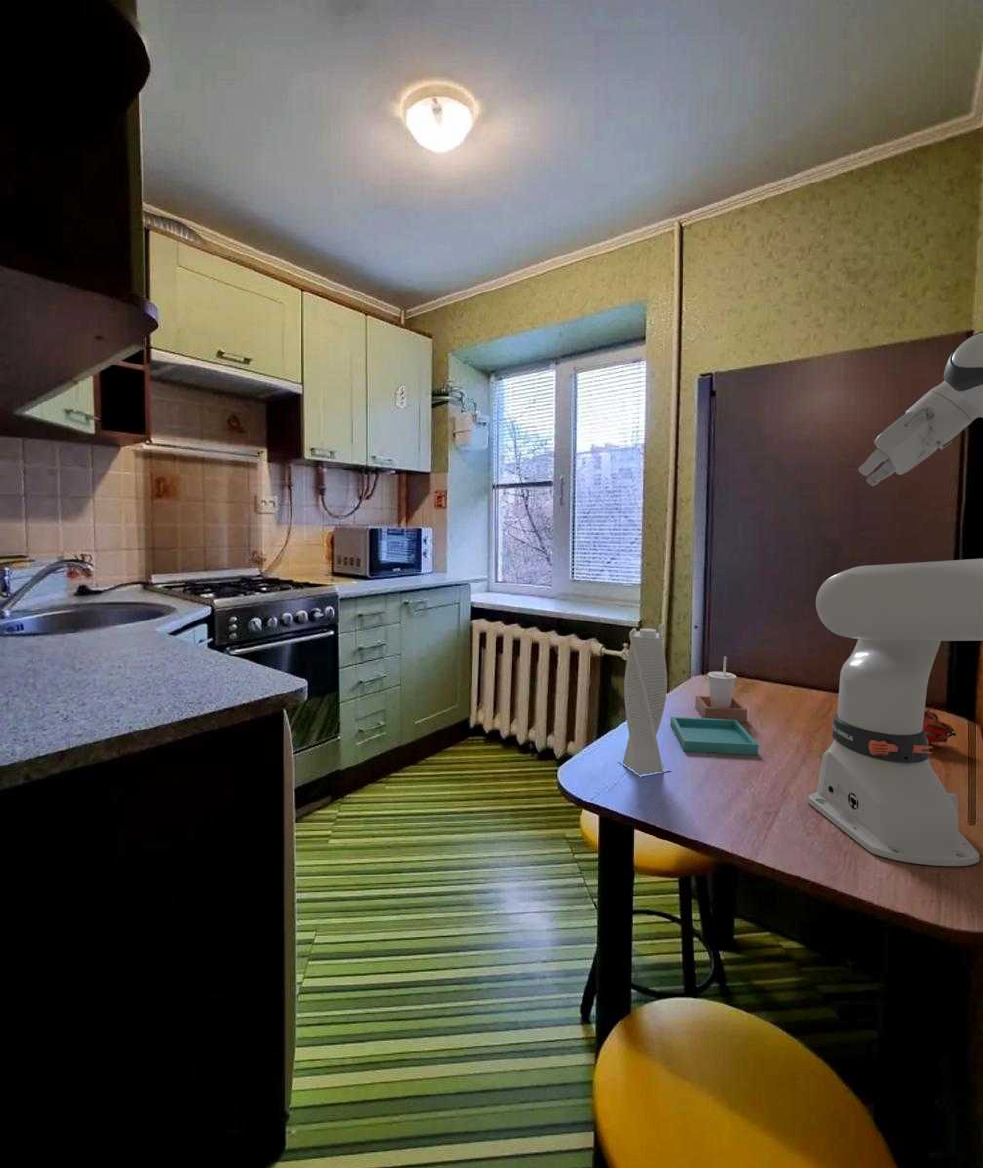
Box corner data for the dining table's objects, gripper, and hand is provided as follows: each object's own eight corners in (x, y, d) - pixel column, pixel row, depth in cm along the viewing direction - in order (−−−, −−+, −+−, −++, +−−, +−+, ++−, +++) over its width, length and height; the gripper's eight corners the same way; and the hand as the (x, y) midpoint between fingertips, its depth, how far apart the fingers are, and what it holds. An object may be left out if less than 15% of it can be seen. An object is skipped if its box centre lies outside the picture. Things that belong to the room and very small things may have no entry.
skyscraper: (676, 776, 101) (683, 623, 98) (639, 783, 98) (645, 626, 95) (647, 757, 109) (652, 615, 106) (612, 764, 106) (616, 618, 103)
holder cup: (746, 722, 127) (747, 709, 127) (704, 720, 128) (705, 707, 128) (734, 709, 136) (734, 697, 136) (695, 707, 137) (695, 695, 137)
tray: (757, 755, 109) (758, 744, 109) (683, 751, 111) (684, 741, 111) (735, 728, 123) (736, 719, 123) (670, 725, 125) (670, 716, 125)
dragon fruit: (877, 739, 122) (946, 764, 113) (875, 726, 116) (947, 751, 107) (891, 705, 123) (960, 727, 115) (889, 690, 118) (962, 712, 109)
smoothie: (739, 719, 129) (742, 660, 127) (711, 719, 129) (714, 660, 128) (728, 710, 135) (731, 653, 134) (701, 710, 135) (704, 653, 134)
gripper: (946, 414, 92) (870, 478, 98) (950, 445, 107) (885, 498, 113) (914, 392, 95) (842, 455, 101) (923, 425, 110) (860, 478, 116)
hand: (865, 478), depth 107 cm, fingers open, 8 cm apart
